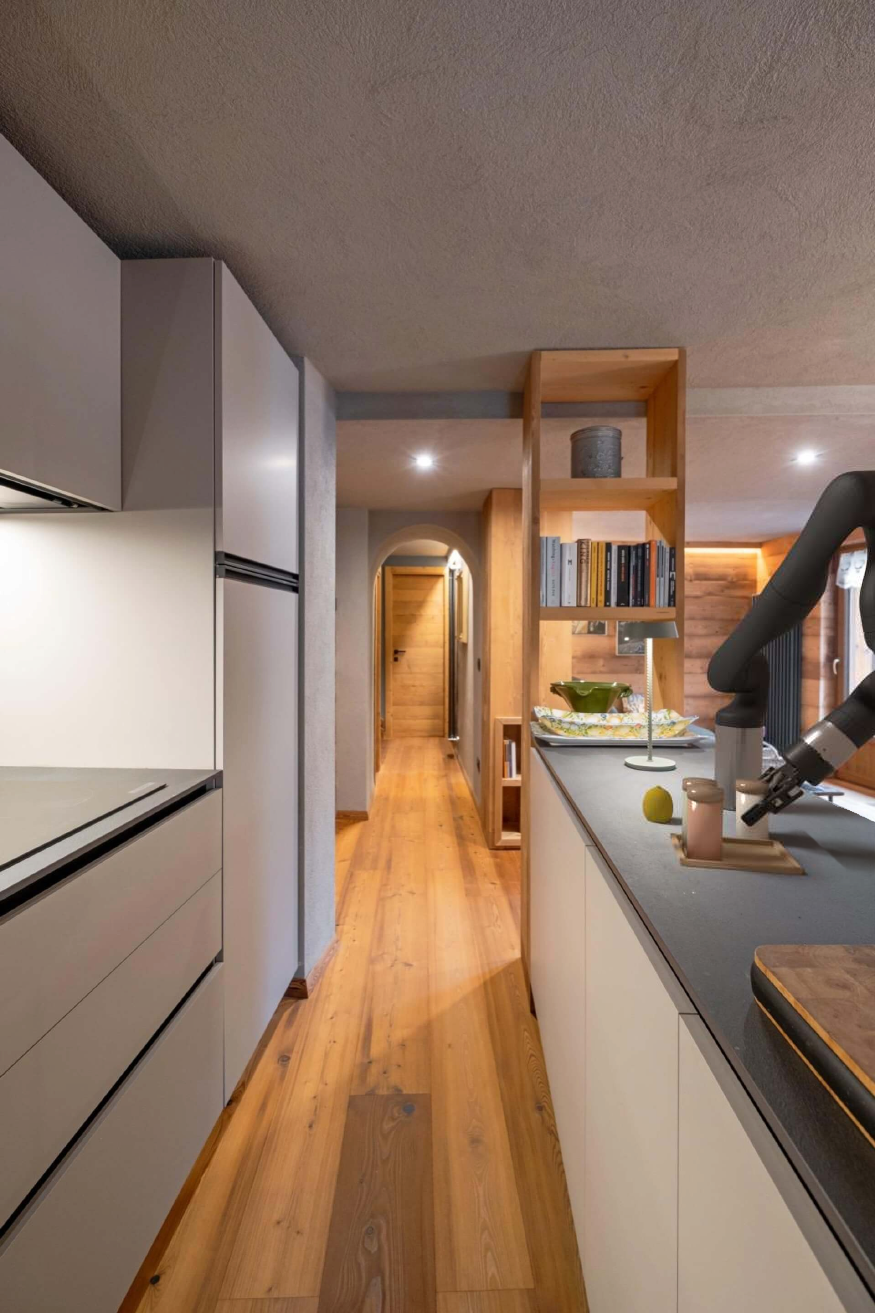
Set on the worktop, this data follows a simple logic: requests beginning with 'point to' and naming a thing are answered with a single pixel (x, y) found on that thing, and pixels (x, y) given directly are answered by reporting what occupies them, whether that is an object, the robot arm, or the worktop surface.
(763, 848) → the tray
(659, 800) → the lemon
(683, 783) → the sage jar
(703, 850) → the terracotta jar
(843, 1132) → the worktop surface
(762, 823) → the white jar
